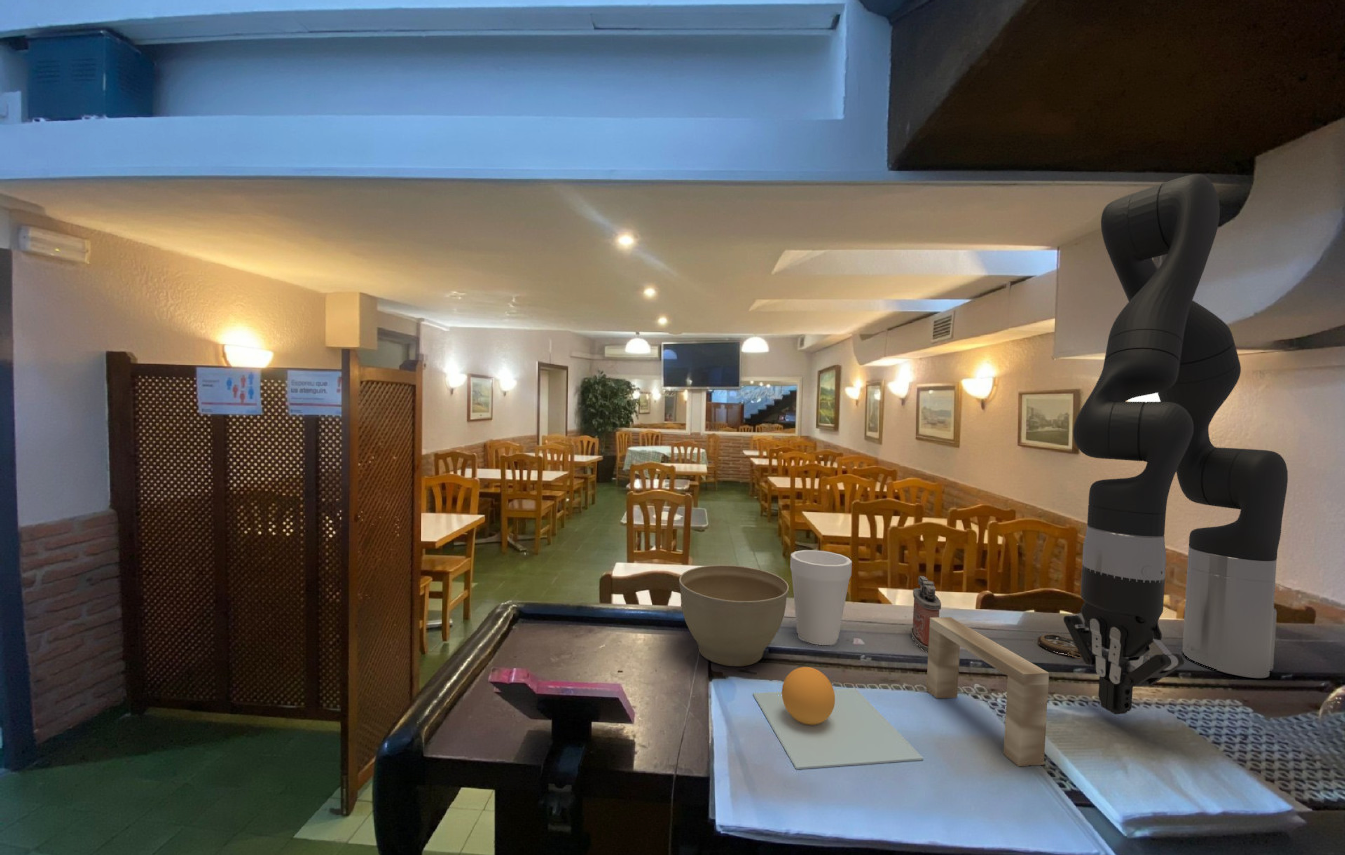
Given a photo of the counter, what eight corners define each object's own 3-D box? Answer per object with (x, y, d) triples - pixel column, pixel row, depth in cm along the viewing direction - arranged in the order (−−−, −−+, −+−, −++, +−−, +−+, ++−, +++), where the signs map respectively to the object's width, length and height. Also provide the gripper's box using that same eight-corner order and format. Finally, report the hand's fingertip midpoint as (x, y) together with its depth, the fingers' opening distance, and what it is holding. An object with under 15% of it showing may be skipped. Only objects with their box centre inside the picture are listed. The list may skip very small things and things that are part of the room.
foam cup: (848, 631, 87) (851, 554, 87) (847, 654, 79) (851, 569, 78) (790, 622, 90) (793, 547, 90) (783, 643, 82) (787, 561, 81)
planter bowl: (654, 650, 78) (656, 578, 77) (721, 622, 89) (724, 559, 89) (741, 693, 66) (745, 609, 66) (806, 655, 78) (809, 583, 78)
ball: (829, 689, 64) (807, 648, 64) (853, 716, 58) (828, 671, 58) (789, 716, 64) (766, 675, 63) (809, 746, 58) (783, 701, 57)
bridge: (946, 689, 69) (950, 617, 69) (1043, 764, 55) (1049, 673, 54) (926, 690, 69) (929, 617, 69) (1018, 766, 54) (1023, 674, 54)
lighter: (943, 654, 80) (946, 589, 80) (919, 651, 81) (922, 587, 80) (928, 633, 88) (931, 574, 88) (907, 631, 89) (910, 572, 88)
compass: (1029, 639, 87) (1032, 596, 87) (1083, 645, 86) (1085, 601, 86) (1054, 660, 79) (1057, 613, 79) (1113, 667, 78) (1116, 619, 78)
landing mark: (855, 689, 68) (855, 688, 68) (923, 760, 55) (923, 758, 55) (752, 694, 66) (752, 693, 66) (796, 769, 52) (796, 767, 52)
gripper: (1213, 585, 57) (1203, 743, 57) (1096, 553, 70) (1088, 681, 70) (1155, 586, 55) (1145, 747, 56) (1047, 553, 68) (1039, 683, 69)
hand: (1113, 710), depth 63 cm, fingers closed
